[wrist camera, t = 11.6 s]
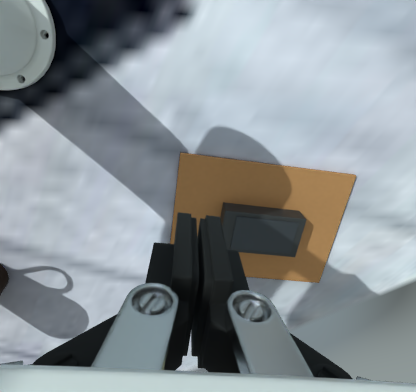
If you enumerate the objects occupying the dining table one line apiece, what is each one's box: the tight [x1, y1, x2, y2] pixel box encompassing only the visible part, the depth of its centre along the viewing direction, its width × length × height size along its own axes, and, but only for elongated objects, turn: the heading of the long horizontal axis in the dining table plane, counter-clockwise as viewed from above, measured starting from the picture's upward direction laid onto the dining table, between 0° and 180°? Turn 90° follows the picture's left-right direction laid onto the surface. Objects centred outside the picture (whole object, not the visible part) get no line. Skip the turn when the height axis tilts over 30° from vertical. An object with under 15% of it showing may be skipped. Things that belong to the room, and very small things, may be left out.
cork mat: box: [170, 153, 356, 283], centre depth 42 cm, size 24×18×1 cm
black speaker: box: [220, 202, 306, 257], centre depth 40 cm, size 3×6×11 cm
